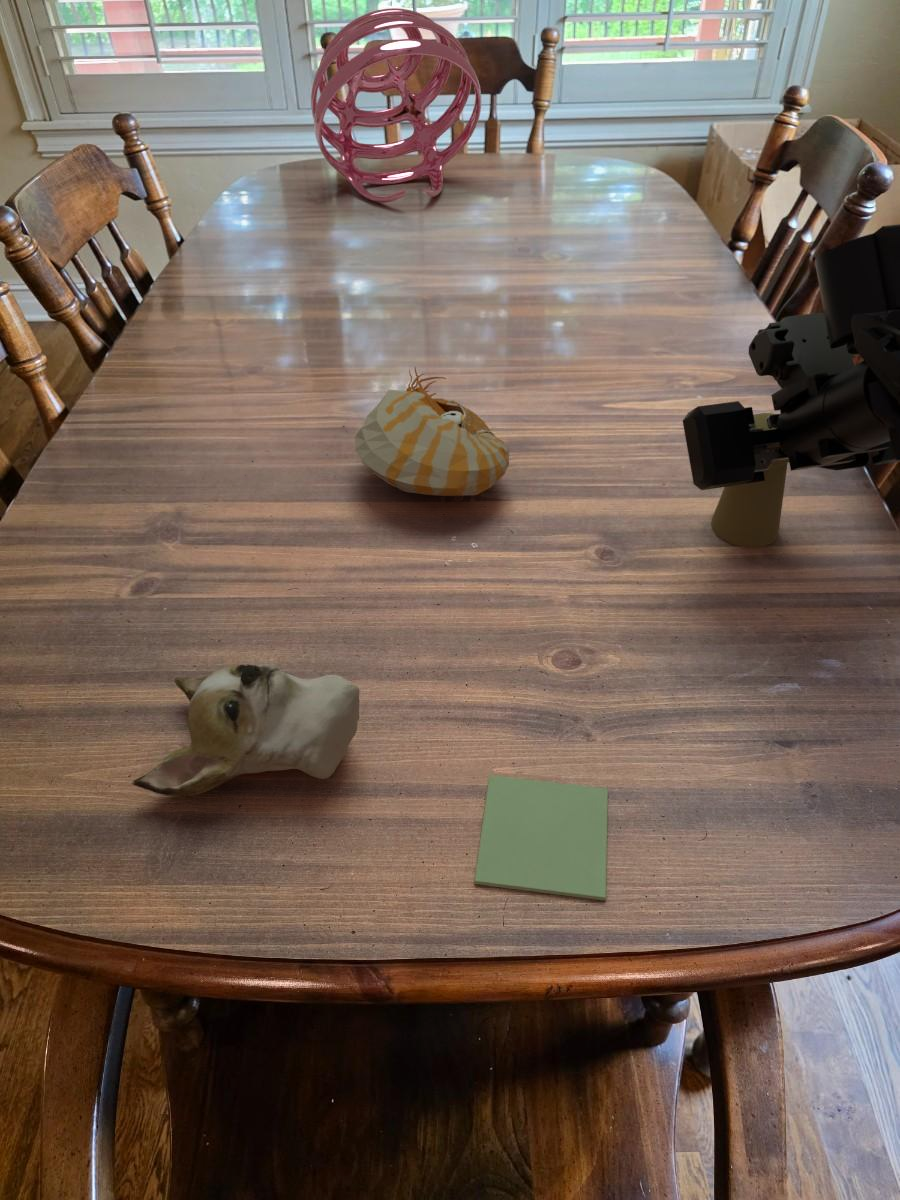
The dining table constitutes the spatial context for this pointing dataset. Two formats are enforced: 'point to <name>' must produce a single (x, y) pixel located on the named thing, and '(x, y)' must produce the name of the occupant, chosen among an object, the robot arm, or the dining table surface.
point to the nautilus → (430, 444)
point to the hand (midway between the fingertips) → (753, 458)
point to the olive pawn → (752, 504)
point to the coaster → (544, 838)
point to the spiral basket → (406, 111)
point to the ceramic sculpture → (257, 728)
